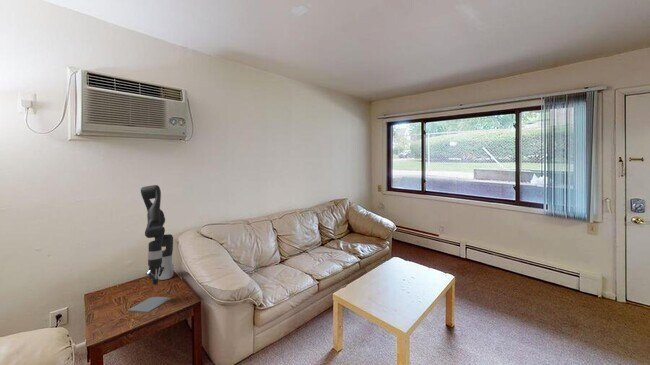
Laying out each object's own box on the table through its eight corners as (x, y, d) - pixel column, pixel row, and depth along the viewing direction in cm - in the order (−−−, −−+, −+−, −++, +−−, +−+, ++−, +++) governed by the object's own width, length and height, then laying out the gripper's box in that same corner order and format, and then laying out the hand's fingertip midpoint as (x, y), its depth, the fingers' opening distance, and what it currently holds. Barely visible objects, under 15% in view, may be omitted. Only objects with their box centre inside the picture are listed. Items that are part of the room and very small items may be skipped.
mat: (152, 297, 167) (152, 296, 167) (171, 298, 165) (171, 297, 165) (127, 311, 149) (127, 310, 149) (148, 312, 147) (148, 311, 147)
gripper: (158, 254, 168) (158, 280, 168) (141, 260, 155) (141, 288, 155) (168, 254, 167) (168, 280, 167) (151, 260, 154) (152, 289, 154)
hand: (155, 284), depth 161 cm, fingers closed
